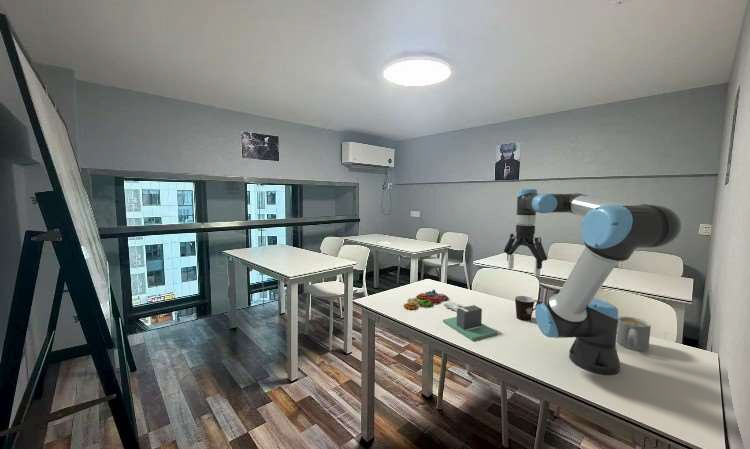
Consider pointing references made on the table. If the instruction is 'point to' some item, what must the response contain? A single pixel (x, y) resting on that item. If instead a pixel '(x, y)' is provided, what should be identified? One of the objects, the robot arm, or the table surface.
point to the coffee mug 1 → (524, 307)
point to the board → (471, 330)
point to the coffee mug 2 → (633, 333)
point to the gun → (453, 305)
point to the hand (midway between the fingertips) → (523, 272)
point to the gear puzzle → (425, 300)
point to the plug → (469, 317)
